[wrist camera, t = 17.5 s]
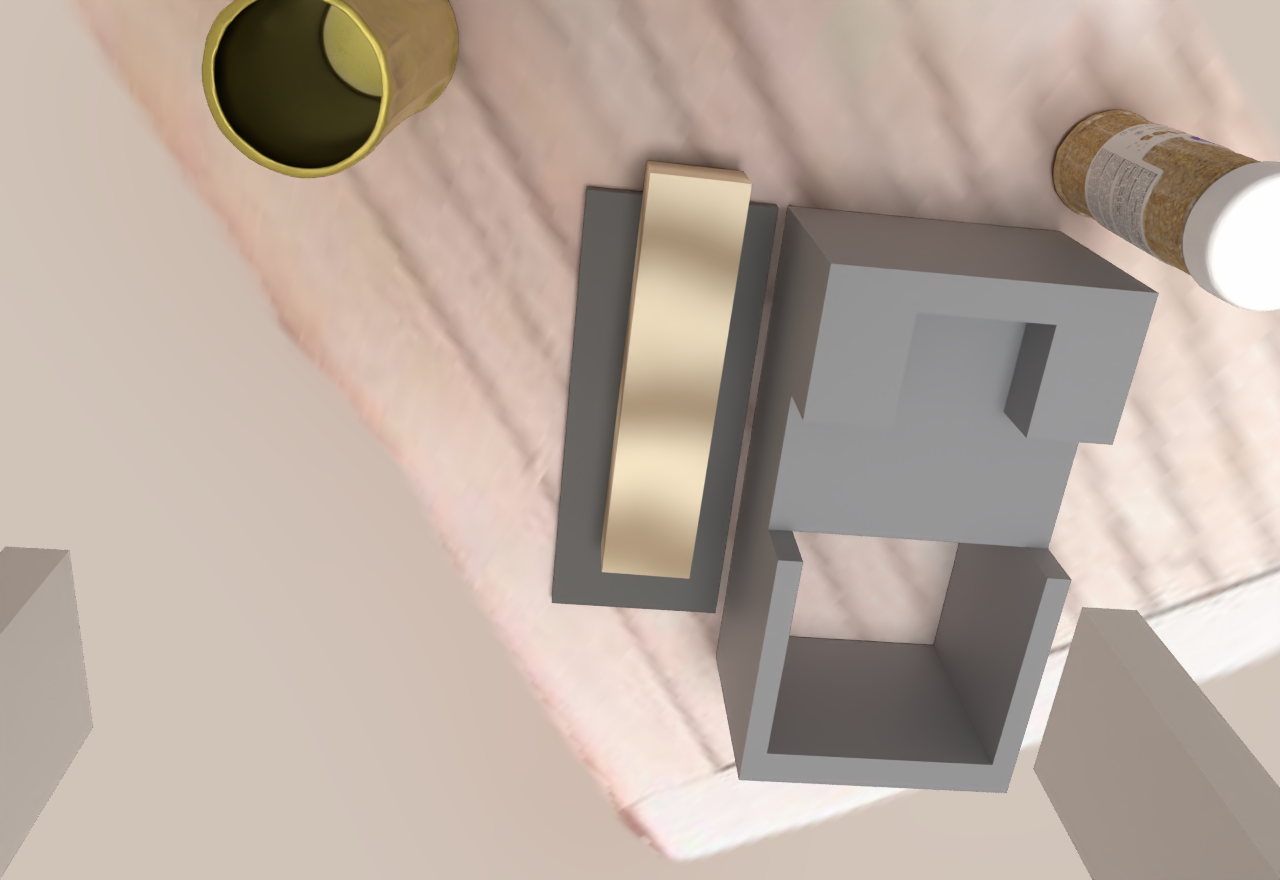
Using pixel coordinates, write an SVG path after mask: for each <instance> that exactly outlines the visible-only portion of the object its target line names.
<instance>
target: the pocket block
mask: <svg viewBox="0 0 1280 880" xmlns="http://www.w3.org/2000/svg"><path fill="white" fill-rule="evenodd" d="M1158 294H1159V293H1157V292H1156V291H1154V290H1153V289H1151V288H1150V287H1148V286H1146V285H1145V284H1143V283H1142V282H1140V281H1138V280H1137V279H1135V278H1134V277H1132V276H1131V275H1129V274H1127V273H1126V272H1124V271H1123V270H1121V269H1119V268H1118V267H1116V266H1115V265H1113V264H1112V263H1110V262H1108V261H1107V260H1105V259H1104V258H1102V257H1100V256H1099V255H1097V254H1096V253H1094V252H1093V251H1091V250H1089V249H1088V248H1086V247H1085V246H1083V245H1081V244H1080V243H1078V242H1077V241H1075V240H1074V239H1072V238H1070V237H1069V236H1067V235H1066V234H1064V233H1062V232H1060V231H1050V230H1039V229H1029V228H1018V227H1007V226H997V225H986V224H976V223H965V222H955V221H944V220H933V219H923V218H912V217H902V216H891V215H881V214H870V213H859V212H849V211H838V210H828V209H817V208H807V207H796V206H788V207H787V214H786V220H785V226H784V232H783V239H782V245H781V251H780V258H779V264H778V270H777V276H776V283H775V289H774V295H773V302H772V308H771V314H770V321H769V327H768V333H767V339H766V346H765V352H764V358H763V365H762V371H761V377H760V383H759V390H758V396H757V402H756V409H755V415H754V421H753V427H752V434H751V440H750V446H749V453H748V459H747V465H746V472H745V478H744V484H743V490H742V497H741V503H740V509H739V516H738V522H737V528H736V534H735V541H734V547H733V553H732V560H731V566H730V572H729V579H728V585H727V591H726V597H725V604H724V610H723V616H722V623H721V629H720V635H719V641H718V648H717V654H716V660H717V665H718V671H719V676H720V681H721V687H722V692H723V697H724V703H725V708H726V714H727V719H728V724H729V730H730V735H731V740H732V746H733V751H734V756H735V762H736V767H737V772H738V778H739V780H751V781H771V782H791V783H812V784H832V785H852V786H873V787H893V788H914V789H934V790H954V791H955V790H956V791H975V792H995V793H1007V790H1008V787H1009V783H1010V780H1011V777H1012V774H1013V770H1014V767H1015V764H1016V760H1017V757H1018V754H1019V751H1020V747H1021V744H1022V741H1023V737H1024V734H1025V731H1026V728H1027V724H1028V721H1029V718H1030V714H1031V711H1032V708H1033V705H1034V701H1035V698H1036V695H1037V691H1038V688H1039V685H1040V682H1041V678H1042V675H1043V672H1044V668H1045V665H1046V662H1047V658H1048V655H1049V652H1050V649H1051V645H1052V642H1053V639H1054V635H1055V632H1056V629H1057V626H1058V622H1059V619H1060V616H1061V612H1062V609H1063V606H1064V603H1065V599H1066V596H1067V593H1068V589H1069V586H1070V583H1071V579H1070V577H1069V576H1068V575H1067V573H1066V572H1065V571H1064V569H1063V568H1062V567H1061V565H1060V564H1059V563H1058V561H1057V560H1056V559H1055V557H1054V556H1053V555H1052V553H1051V552H1050V551H1049V549H1048V547H1049V543H1050V540H1051V536H1052V533H1053V529H1054V526H1055V522H1056V519H1057V516H1058V512H1059V509H1060V505H1061V502H1062V498H1063V495H1064V491H1065V488H1066V485H1067V481H1068V478H1069V474H1070V471H1071V467H1072V464H1073V460H1074V457H1075V454H1076V450H1077V447H1078V443H1079V442H1083V443H1096V444H1109V445H1113V442H1114V438H1115V435H1116V432H1117V428H1118V425H1119V422H1120V419H1121V415H1122V412H1123V409H1124V405H1125V402H1126V399H1127V396H1128V392H1129V389H1130V386H1131V382H1132V379H1133V376H1134V373H1135V369H1136V366H1137V363H1138V359H1139V356H1140V353H1141V350H1142V346H1143V343H1144V340H1145V336H1146V333H1147V330H1148V327H1149V323H1150V320H1151V317H1152V313H1153V310H1154V307H1155V304H1156V300H1157V297H1158ZM792 531H799V532H813V533H828V534H842V535H857V536H871V537H886V538H900V539H915V540H929V541H944V542H958V543H959V546H958V550H957V554H956V558H955V562H954V566H953V570H952V574H951V578H950V582H949V586H948V590H947V594H946V598H945V602H944V606H943V610H942V614H941V618H940V622H939V626H938V629H937V633H936V637H935V641H934V645H920V644H904V643H887V642H871V641H854V640H837V639H821V638H804V637H789V634H790V628H791V623H792V618H793V613H794V607H795V602H796V597H797V591H798V586H799V581H800V576H801V570H802V565H803V560H802V558H801V555H800V552H799V549H798V546H797V543H796V541H795V538H794V535H793V532H792Z"/></svg>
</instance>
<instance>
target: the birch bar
mask: <svg viewBox="0 0 1280 880" xmlns="http://www.w3.org/2000/svg"><path fill="white" fill-rule="evenodd" d="M751 187H752V183H751V182H750V180H749V179H748V177H747V176H746V174H745V173H744V171H735V170H726V169H717V168H708V167H699V166H691V165H682V164H673V163H664V162H655V161H647V164H646V173H645V181H644V189H643V198H642V206H641V214H640V223H639V231H638V239H637V248H636V256H635V264H634V273H633V281H632V289H631V298H630V306H629V315H628V323H627V331H626V340H625V348H624V356H623V365H622V373H621V381H620V390H619V398H618V406H617V415H616V423H615V431H614V440H613V448H612V456H611V465H610V473H609V481H608V490H607V498H606V506H605V515H604V523H603V532H602V540H601V560H602V572H608V573H621V574H634V575H647V576H660V577H673V578H686V579H689V577H690V571H691V565H692V559H693V552H694V546H695V540H696V533H697V527H698V521H699V514H700V508H701V502H702V496H703V489H704V483H705V477H706V470H707V464H708V458H709V452H710V445H711V439H712V433H713V426H714V420H715V414H716V407H717V401H718V395H719V389H720V382H721V376H722V370H723V363H724V357H725V351H726V345H727V338H728V332H729V326H730V319H731V313H732V307H733V300H734V294H735V288H736V282H737V275H738V269H739V263H740V256H741V250H742V244H743V238H744V231H745V225H746V219H747V212H748V206H749V200H750V193H751Z"/></svg>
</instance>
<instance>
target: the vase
mask: <svg viewBox="0 0 1280 880" xmlns="http://www.w3.org/2000/svg"><path fill="white" fill-rule="evenodd" d="M458 42H459V41H458V30H457V25H456V21H455V17H454V14H453V11H452V9H451V6H450V4H449V2H448V0H235V1H234V2H232V3H231V4H230V5H228V6H227V7H226V8H224V9H223V10H222V11H221V12H220V13H219V14H218V16H217V18H216V19H215V21H214V22H213V24H212V26H211V29H210V31H209V33H208V36H207V39H206V44H205V50H204V55H203V63H202V82H203V87H204V92H205V96H206V99H207V103H208V106H209V108H210V111H211V113H212V116H213V118H214V120H215V122H216V124H217V125H218V127H219V129H220V130H221V132H222V133H223V134H224V135H225V136H226V138H227V139H228V140H229V141H230V142H231V143H232V144H233V145H234V146H235V147H236V148H237V149H239V150H240V151H241V152H242V153H243V154H244V155H246V156H247V157H248V158H249V159H251V160H253V161H254V162H256V163H258V164H260V165H262V166H264V167H266V168H268V169H270V170H273V171H275V172H278V173H281V174H284V175H287V176H292V177H298V178H317V177H325V176H330V175H334V174H337V173H339V172H342V171H343V170H345V169H347V168H349V167H351V166H352V165H354V164H356V163H357V162H359V161H360V160H362V159H363V158H365V157H366V156H367V155H368V154H370V153H371V152H372V151H373V150H374V149H375V148H376V147H377V146H378V145H379V144H380V142H381V141H382V140H383V139H384V138H385V137H386V136H387V135H388V134H389V133H390V132H391V131H392V130H393V129H394V128H395V127H396V126H398V125H399V124H400V122H402V121H403V120H405V119H406V118H408V117H410V116H411V115H412V114H414V113H417V112H419V111H421V110H423V109H424V108H426V107H427V106H429V105H430V104H431V103H432V102H434V101H435V100H436V99H437V98H438V97H439V95H440V94H441V93H442V92H443V90H444V89H445V88H446V86H447V85H448V83H449V81H450V80H451V78H452V75H453V73H454V69H455V65H456V60H457V53H458Z"/></svg>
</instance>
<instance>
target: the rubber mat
mask: <svg viewBox="0 0 1280 880" xmlns="http://www.w3.org/2000/svg"><path fill="white" fill-rule="evenodd" d="M642 198H643V192H638V191H627V190H616V189H606V188H595V187H587V190H586V202H585V214H584V226H583V237H582V249H581V261H580V273H579V284H578V296H577V308H576V320H575V332H574V343H573V355H572V367H571V379H570V391H569V402H568V414H567V426H566V438H565V449H564V461H563V473H562V485H561V497H560V508H559V520H558V532H557V544H556V556H555V567H554V579H553V591H552V603H561V604H577V605H593V606H609V607H625V608H642V609H658V610H674V611H690V612H706V613H715V612H716V606H717V599H718V593H719V586H720V580H721V573H722V567H723V561H724V554H725V548H726V541H727V535H728V528H729V522H730V516H731V509H732V503H733V496H734V490H735V483H736V477H737V471H738V464H739V458H740V451H741V445H742V438H743V432H744V426H745V419H746V413H747V406H748V400H749V393H750V387H751V381H752V374H753V368H754V361H755V355H756V348H757V342H758V336H759V329H760V323H761V316H762V310H763V303H764V297H765V291H766V284H767V278H768V271H769V265H770V258H771V252H772V246H773V239H774V233H775V226H776V220H777V213H778V207H777V205H775V204H764V203H754V202H749V206H748V212H747V219H746V225H745V231H744V238H743V244H742V250H741V256H740V263H739V269H738V275H737V282H736V288H735V294H734V300H733V307H732V313H731V319H730V326H729V332H728V338H727V345H726V351H725V357H724V363H723V370H722V376H721V382H720V389H719V395H718V401H717V407H716V414H715V420H714V426H713V433H712V439H711V445H710V452H709V458H708V464H707V470H706V477H705V483H704V489H703V496H702V502H701V508H700V514H699V521H698V527H697V533H696V540H695V546H694V552H693V559H692V565H691V571H690V577H689V579H686V578H673V577H660V576H647V575H634V574H621V573H608V572H602V560H601V540H602V532H603V523H604V515H605V506H606V498H607V490H608V481H609V473H610V465H611V456H612V448H613V440H614V431H615V423H616V415H617V406H618V398H619V390H620V381H621V373H622V365H623V356H624V348H625V340H626V331H627V323H628V315H629V306H630V298H631V289H632V281H633V273H634V264H635V256H636V248H637V239H638V231H639V223H640V214H641V206H642Z"/></svg>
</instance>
